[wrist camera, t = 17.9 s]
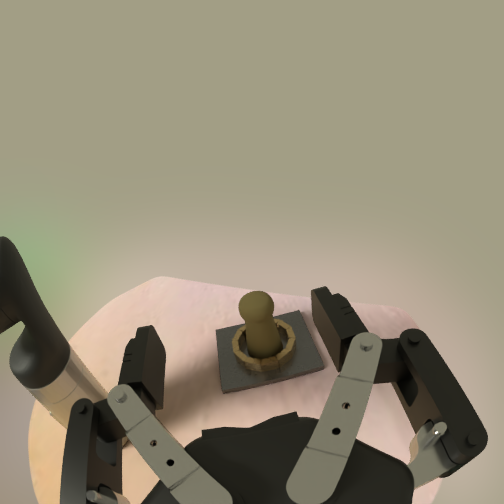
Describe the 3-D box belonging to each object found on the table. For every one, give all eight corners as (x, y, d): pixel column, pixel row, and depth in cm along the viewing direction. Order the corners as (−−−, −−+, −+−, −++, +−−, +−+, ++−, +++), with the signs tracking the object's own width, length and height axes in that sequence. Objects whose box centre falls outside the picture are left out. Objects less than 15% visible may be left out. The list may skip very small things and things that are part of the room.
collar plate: (223, 393, 40) (218, 383, 39) (217, 333, 52) (213, 322, 51) (323, 369, 41) (324, 357, 40) (299, 314, 53) (298, 302, 52)
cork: (260, 330, 50) (249, 281, 44) (289, 341, 46) (283, 290, 41) (240, 353, 46) (225, 304, 40) (270, 366, 42) (260, 316, 37)
